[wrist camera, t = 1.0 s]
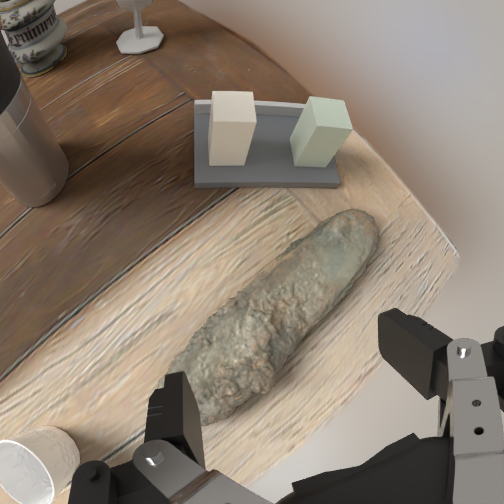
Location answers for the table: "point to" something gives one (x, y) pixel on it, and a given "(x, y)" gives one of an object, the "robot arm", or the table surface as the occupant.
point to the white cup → (37, 464)
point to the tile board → (260, 153)
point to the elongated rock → (274, 315)
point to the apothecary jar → (33, 34)
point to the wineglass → (138, 30)
